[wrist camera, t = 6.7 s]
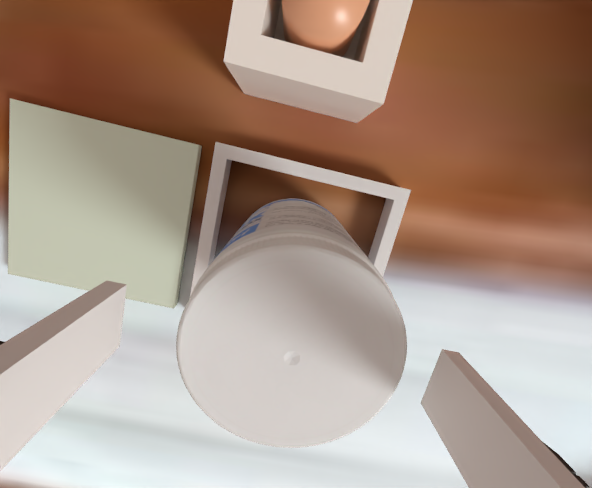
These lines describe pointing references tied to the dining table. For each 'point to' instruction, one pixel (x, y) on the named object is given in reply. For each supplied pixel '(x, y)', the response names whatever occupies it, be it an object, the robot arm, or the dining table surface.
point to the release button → (322, 23)
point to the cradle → (227, 153)
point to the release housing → (315, 60)
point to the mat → (98, 203)
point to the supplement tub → (291, 331)
